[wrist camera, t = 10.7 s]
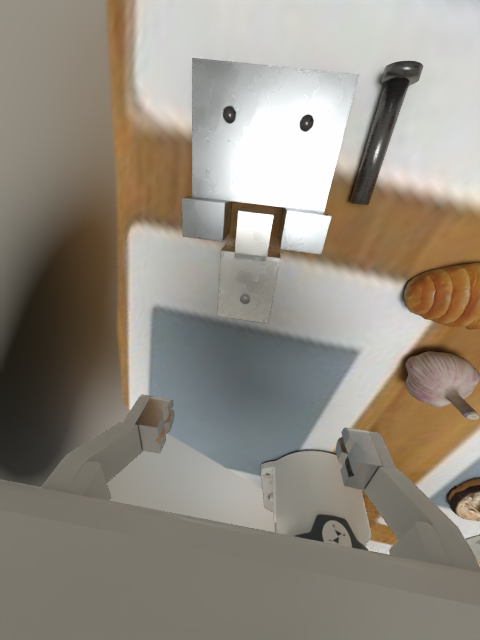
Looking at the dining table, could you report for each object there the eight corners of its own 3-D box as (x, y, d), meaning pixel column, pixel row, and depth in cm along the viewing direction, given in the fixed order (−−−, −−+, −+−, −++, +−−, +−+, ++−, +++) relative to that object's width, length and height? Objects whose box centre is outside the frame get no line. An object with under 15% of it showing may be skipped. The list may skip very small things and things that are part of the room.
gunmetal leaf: (312, 242, 24) (321, 254, 20) (196, 228, 25) (182, 236, 21) (352, 82, 18) (375, 54, 14) (197, 66, 19) (179, 36, 15)
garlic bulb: (393, 351, 30) (430, 402, 23) (462, 333, 28) (526, 383, 21) (402, 393, 33) (438, 449, 26) (465, 380, 31) (522, 437, 24)
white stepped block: (268, 308, 29) (268, 324, 25) (222, 302, 29) (216, 317, 26) (285, 212, 23) (288, 217, 20) (229, 205, 23) (223, 209, 20)
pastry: (391, 316, 28) (408, 334, 24) (411, 258, 24) (433, 269, 21) (480, 320, 27) (510, 339, 23) (513, 259, 24) (553, 271, 20)
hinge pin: (369, 204, 22) (379, 206, 20) (343, 201, 22) (350, 203, 20) (412, 76, 18) (430, 62, 16) (379, 73, 18) (393, 59, 16)
